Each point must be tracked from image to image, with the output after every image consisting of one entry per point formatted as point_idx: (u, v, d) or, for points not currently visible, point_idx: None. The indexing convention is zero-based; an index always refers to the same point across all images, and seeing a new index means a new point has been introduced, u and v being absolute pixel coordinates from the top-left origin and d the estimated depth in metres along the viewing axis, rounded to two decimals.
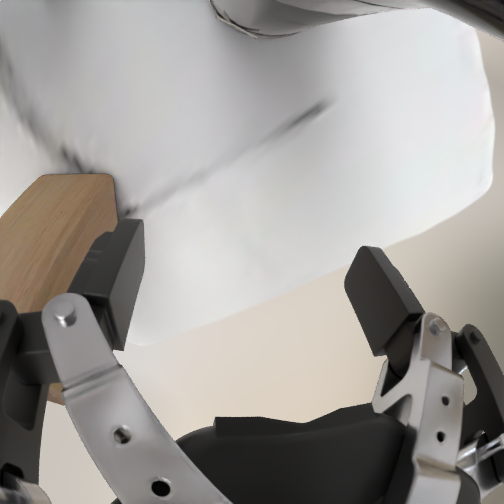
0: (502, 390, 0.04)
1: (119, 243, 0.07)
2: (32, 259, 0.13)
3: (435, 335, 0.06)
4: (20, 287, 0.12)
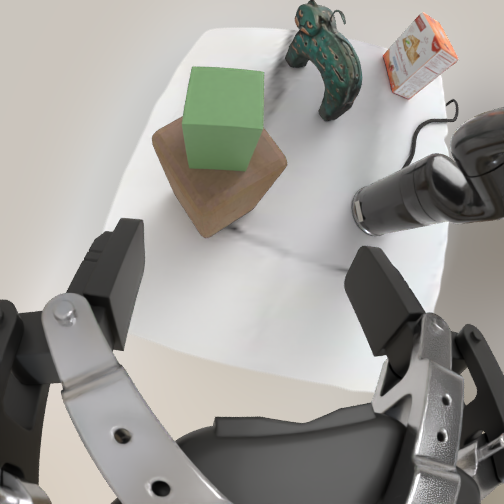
0: (502, 390, 0.04)
1: (119, 243, 0.07)
2: None
3: (435, 335, 0.06)
4: None
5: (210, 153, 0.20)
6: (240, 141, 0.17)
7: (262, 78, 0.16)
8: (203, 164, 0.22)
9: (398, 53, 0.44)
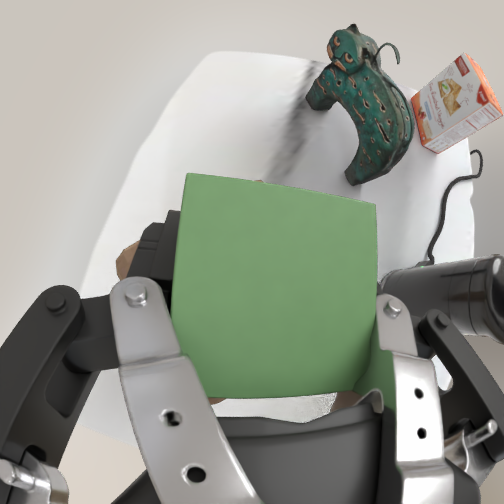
0: (481, 374, 0.05)
1: (174, 232, 0.08)
2: None
3: (388, 316, 0.06)
4: None
5: None
6: None
7: (374, 228, 0.07)
8: None
9: (432, 99, 0.40)
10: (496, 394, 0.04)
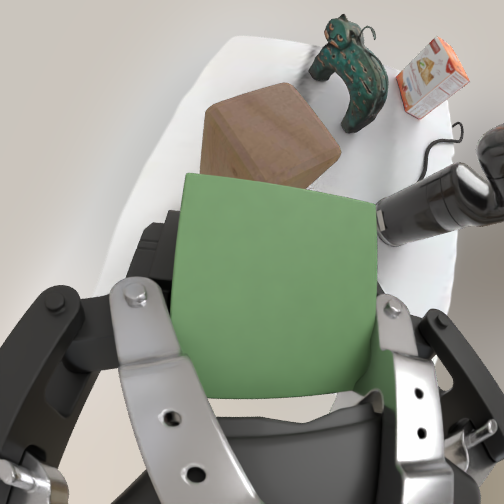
0: (481, 374, 0.05)
1: (174, 232, 0.08)
2: None
3: (388, 316, 0.06)
4: None
5: None
6: None
7: (374, 228, 0.07)
8: None
9: (412, 74, 0.49)
10: (496, 394, 0.04)
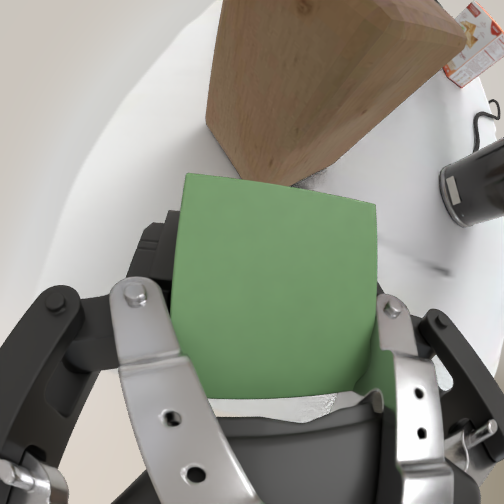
0: (481, 374, 0.05)
1: (174, 232, 0.08)
2: None
3: (389, 316, 0.06)
4: None
5: None
6: None
7: (374, 228, 0.07)
8: None
9: None
10: (496, 394, 0.04)
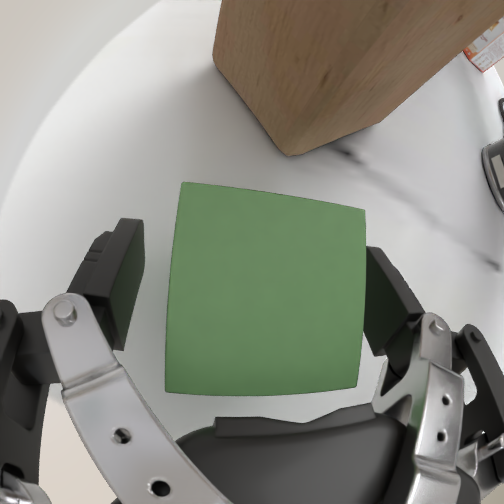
0: (502, 390, 0.04)
1: (119, 243, 0.07)
2: None
3: (435, 335, 0.06)
4: None
5: None
6: None
7: (363, 233, 0.07)
8: None
9: None
10: None
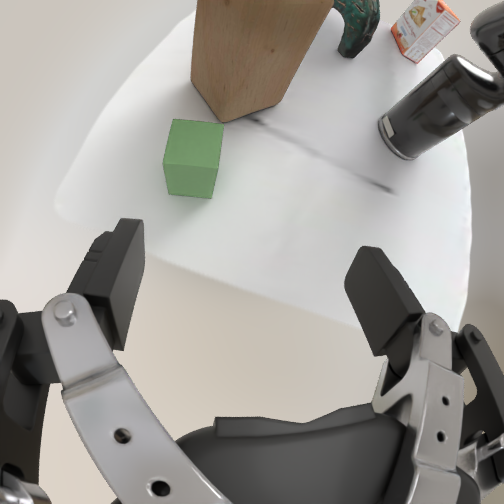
0: (502, 390, 0.04)
1: (119, 243, 0.07)
2: None
3: (435, 335, 0.06)
4: None
5: (183, 184, 0.27)
6: (203, 177, 0.25)
7: (222, 129, 0.24)
8: (179, 192, 0.29)
9: (405, 22, 0.41)
10: None
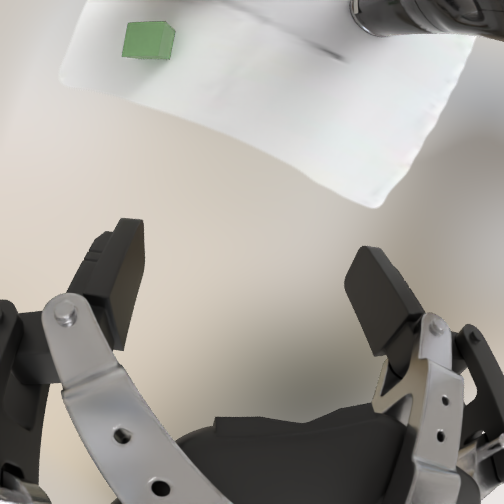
0: (502, 390, 0.04)
1: (119, 243, 0.07)
2: None
3: (435, 335, 0.06)
4: None
5: None
6: None
7: (163, 26, 0.23)
8: (144, 58, 0.30)
9: None
10: None
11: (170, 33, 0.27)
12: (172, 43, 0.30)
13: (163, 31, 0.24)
